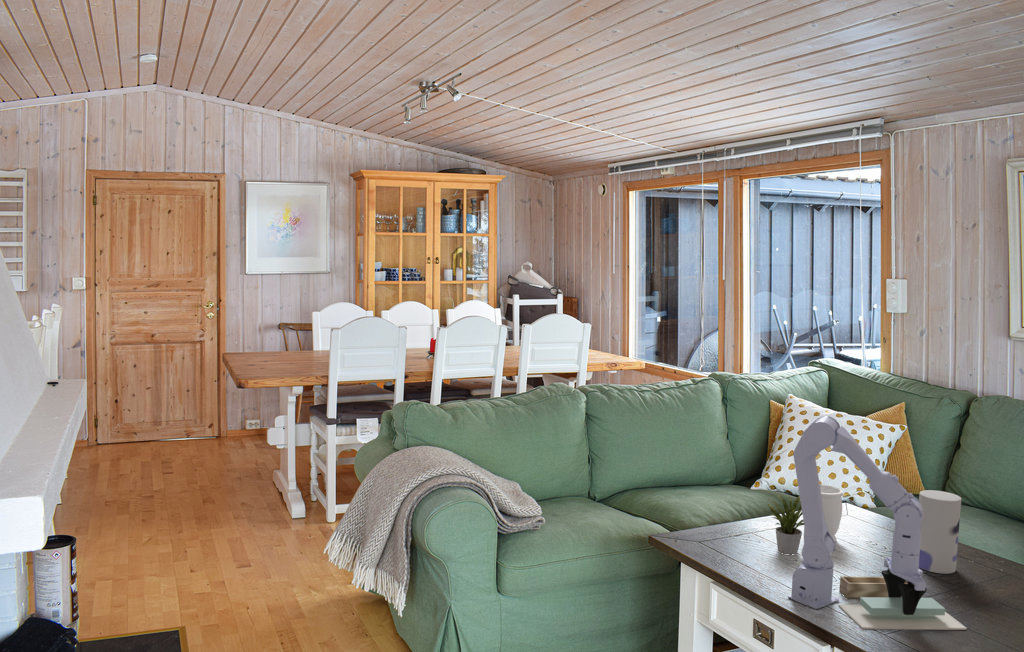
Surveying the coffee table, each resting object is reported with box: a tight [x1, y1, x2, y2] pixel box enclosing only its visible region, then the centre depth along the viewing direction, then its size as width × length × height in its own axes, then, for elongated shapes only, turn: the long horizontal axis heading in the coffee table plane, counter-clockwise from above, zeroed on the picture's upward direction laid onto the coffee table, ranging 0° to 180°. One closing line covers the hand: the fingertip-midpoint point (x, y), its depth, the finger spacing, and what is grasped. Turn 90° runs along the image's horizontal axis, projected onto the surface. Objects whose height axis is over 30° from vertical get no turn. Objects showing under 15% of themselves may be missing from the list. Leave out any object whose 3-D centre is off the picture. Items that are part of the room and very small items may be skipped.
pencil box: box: [839, 575, 908, 601], centre depth 203 cm, size 16×4×4 cm, turn 93°
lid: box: [859, 597, 946, 615], centre depth 191 cm, size 17×6×2 cm, turn 93°
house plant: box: [767, 494, 804, 556], centre depth 231 cm, size 14×14×16 cm
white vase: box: [820, 484, 844, 542], centre depth 243 cm, size 11×10×15 cm
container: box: [918, 489, 962, 574], centre depth 223 cm, size 10×10×20 cm
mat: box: [838, 603, 968, 631], centre depth 191 cm, size 24×12×1 cm, turn 93°
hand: (901, 608), depth 191 cm, fingers closed on lid, 6 cm apart
